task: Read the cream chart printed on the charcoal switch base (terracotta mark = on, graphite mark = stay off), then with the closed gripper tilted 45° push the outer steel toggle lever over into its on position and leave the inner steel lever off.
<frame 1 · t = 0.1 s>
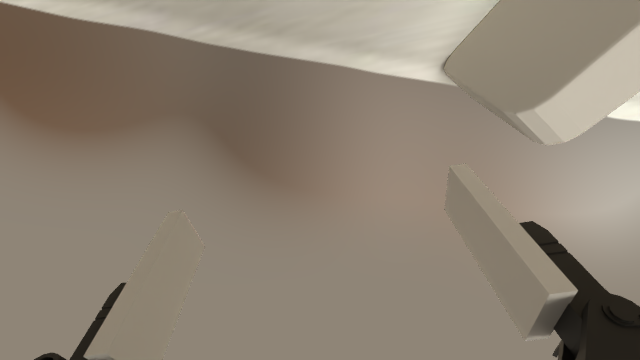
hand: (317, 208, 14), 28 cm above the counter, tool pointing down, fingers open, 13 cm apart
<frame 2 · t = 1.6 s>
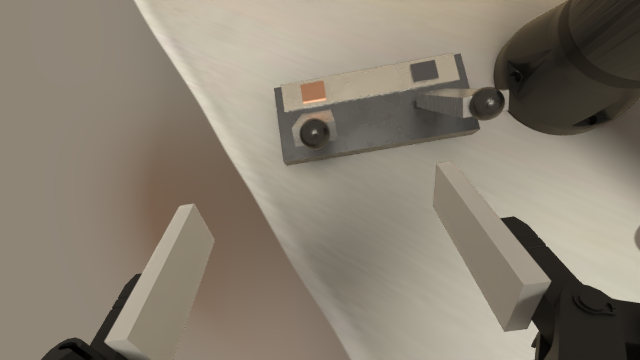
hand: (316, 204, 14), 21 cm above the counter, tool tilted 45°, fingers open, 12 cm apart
inner lever: (455, 100, 28), point 9 cm above the counter, hinge at -28.0°
switch base: (371, 113, 37), on the counter
outer lever: (316, 125, 29), point 9 cm above the counter, hinge at -28.0°
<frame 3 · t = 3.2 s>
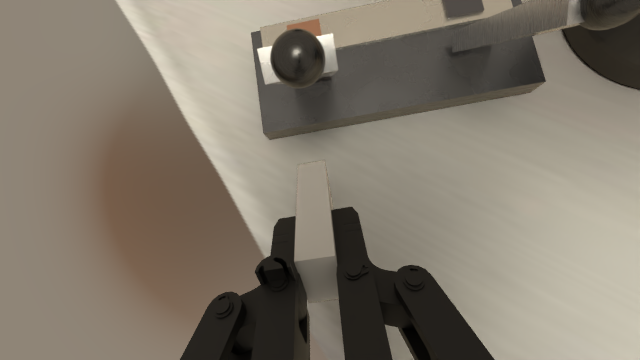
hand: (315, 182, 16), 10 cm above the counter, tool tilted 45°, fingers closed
inner lever: (528, 21, 17), point 9 cm above the counter, hinge at -28.0°
switch base: (385, 67, 27), on the counter
outer lever: (305, 66, 18), point 9 cm above the counter, hinge at -28.0°
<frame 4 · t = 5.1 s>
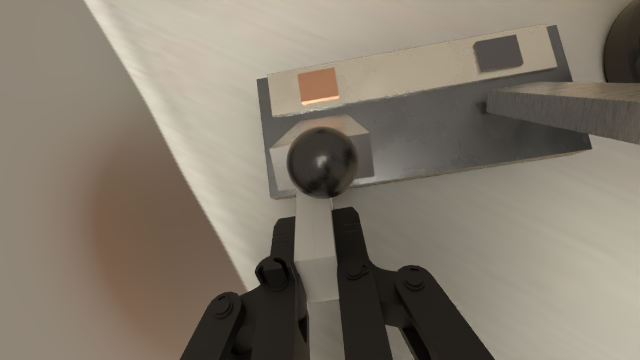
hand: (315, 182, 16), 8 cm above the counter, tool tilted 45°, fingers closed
inner lever: (593, 105, 15), point 9 cm above the counter, hinge at -28.0°
switch base: (407, 120, 24), on the counter
outer lever: (323, 140, 15), point 9 cm above the counter, hinge at -24.3°, touching gripper
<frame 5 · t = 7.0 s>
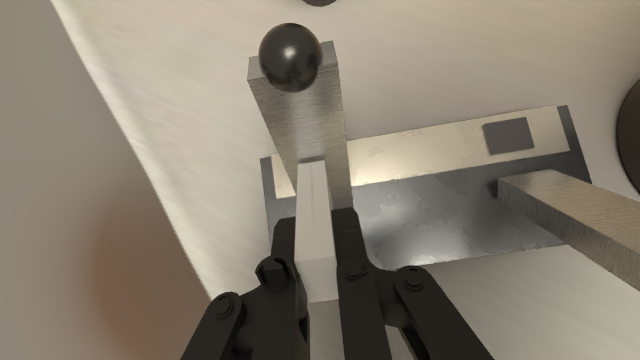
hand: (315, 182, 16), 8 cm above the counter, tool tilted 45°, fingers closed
inner lever: (614, 229, 14), point 9 cm above the counter, hinge at -28.0°
switch base: (414, 197, 23), on the counter
outer lever: (313, 146, 16), point 9 cm above the counter, hinge at 25.8°, touching gripper
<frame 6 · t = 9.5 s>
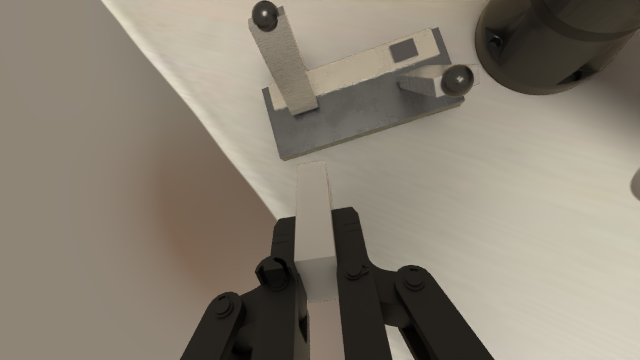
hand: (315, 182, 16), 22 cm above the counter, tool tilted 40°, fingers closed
inner lever: (433, 78, 29), point 9 cm above the counter, hinge at -28.0°
switch base: (357, 100, 38), on the counter
outer lever: (286, 64, 31), point 9 cm above the counter, hinge at 25.9°
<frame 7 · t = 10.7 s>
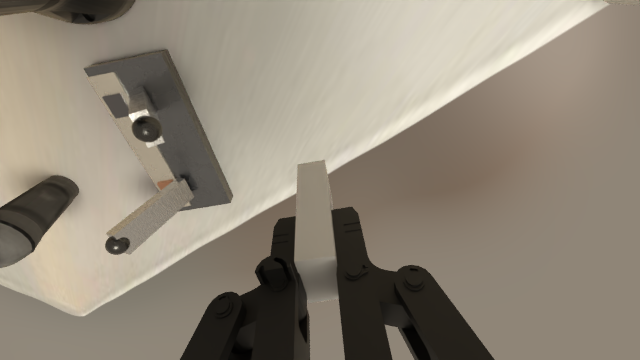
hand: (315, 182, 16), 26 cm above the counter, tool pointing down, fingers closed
inner lever: (145, 114, 32), point 9 cm above the counter, hinge at -28.0°
switch base: (173, 140, 43), on the counter
beverage cup: (64, 186, 47), on the counter
outer lever: (151, 215, 40), point 9 cm above the counter, hinge at 25.9°
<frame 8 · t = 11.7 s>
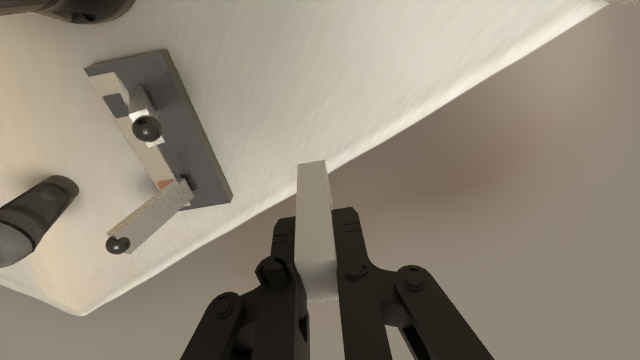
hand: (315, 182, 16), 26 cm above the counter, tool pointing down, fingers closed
inner lever: (145, 114, 32), point 9 cm above the counter, hinge at -28.0°
switch base: (174, 139, 43), on the counter
beverage cup: (64, 185, 47), on the counter
outer lever: (152, 215, 40), point 9 cm above the counter, hinge at 25.9°
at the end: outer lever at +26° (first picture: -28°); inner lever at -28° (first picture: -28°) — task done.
